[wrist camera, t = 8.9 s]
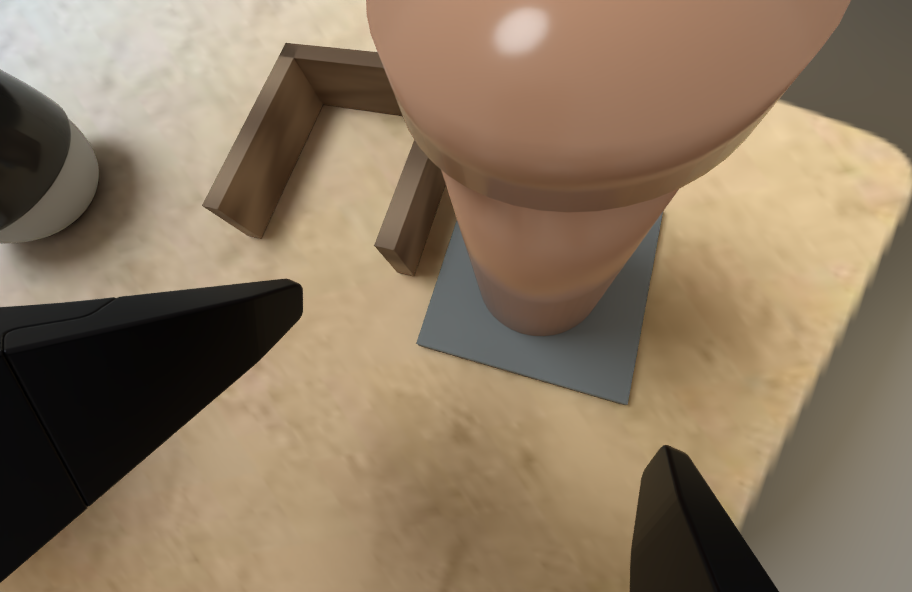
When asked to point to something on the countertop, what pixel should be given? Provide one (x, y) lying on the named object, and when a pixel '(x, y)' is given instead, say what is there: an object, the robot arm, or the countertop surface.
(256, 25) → the countertop surface
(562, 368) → the mat
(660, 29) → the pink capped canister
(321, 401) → the countertop surface
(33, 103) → the pump dispenser
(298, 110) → the frame
